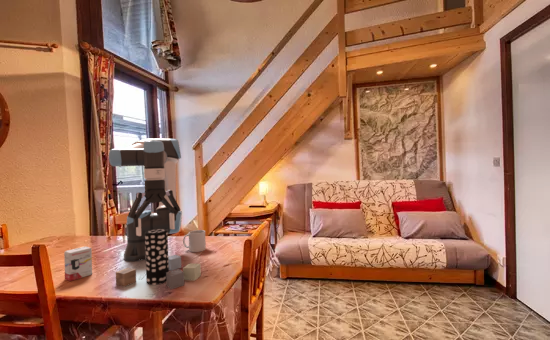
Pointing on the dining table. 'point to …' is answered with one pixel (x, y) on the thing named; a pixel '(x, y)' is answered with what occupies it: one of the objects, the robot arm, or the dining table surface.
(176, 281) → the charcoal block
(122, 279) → the walnut block
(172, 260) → the dusty blue block
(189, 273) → the sage block
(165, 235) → the spotted tube
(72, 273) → the ink box
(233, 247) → the dining table surface
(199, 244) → the mug
